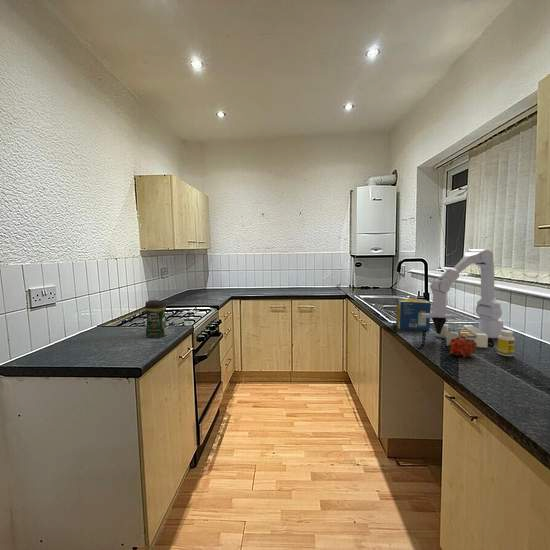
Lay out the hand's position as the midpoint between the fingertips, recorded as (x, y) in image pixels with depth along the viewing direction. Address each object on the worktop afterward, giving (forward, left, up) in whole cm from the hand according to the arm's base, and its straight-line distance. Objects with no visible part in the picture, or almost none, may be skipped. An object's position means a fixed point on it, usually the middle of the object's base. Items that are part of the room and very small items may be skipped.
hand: (438, 333), depth 146 cm
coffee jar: (+137, +23, -4) cm, 138 cm away
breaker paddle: (-11, 0, 0) cm, 11 cm away
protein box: (+8, -22, -4) cm, 24 cm away
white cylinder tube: (-4, -7, -3) cm, 9 cm away
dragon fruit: (-3, +21, -4) cm, 22 cm away
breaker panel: (-14, -2, -3) cm, 15 cm away
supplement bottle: (-21, +15, -4) cm, 26 cm away
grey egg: (-4, +7, -3) cm, 9 cm away
